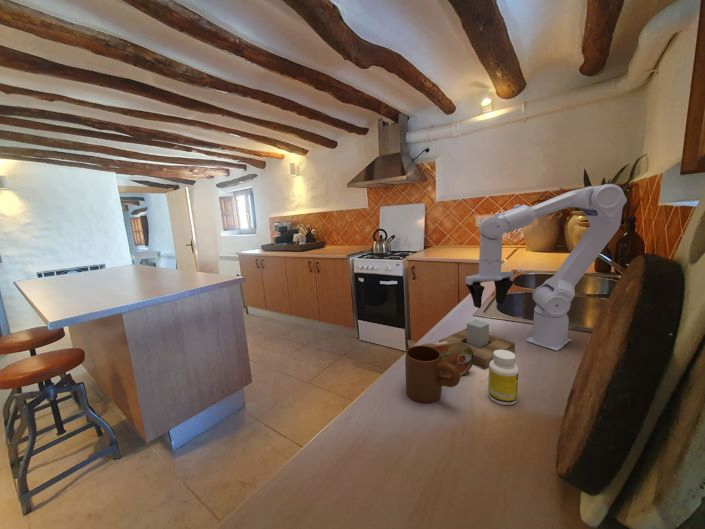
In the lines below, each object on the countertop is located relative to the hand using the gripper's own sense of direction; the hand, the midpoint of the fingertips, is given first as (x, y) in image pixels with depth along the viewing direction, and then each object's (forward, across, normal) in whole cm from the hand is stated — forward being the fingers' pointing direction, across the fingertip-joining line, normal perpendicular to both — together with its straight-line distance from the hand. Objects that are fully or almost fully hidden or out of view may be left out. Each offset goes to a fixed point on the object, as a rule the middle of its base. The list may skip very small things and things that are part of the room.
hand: (488, 305), depth 85 cm
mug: (+11, -29, -19) cm, 36 cm away
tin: (+11, -23, -13) cm, 28 cm away
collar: (+10, -8, -5) cm, 14 cm away
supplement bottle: (+11, -16, -24) cm, 30 cm away
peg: (+10, -8, -5) cm, 14 cm away
